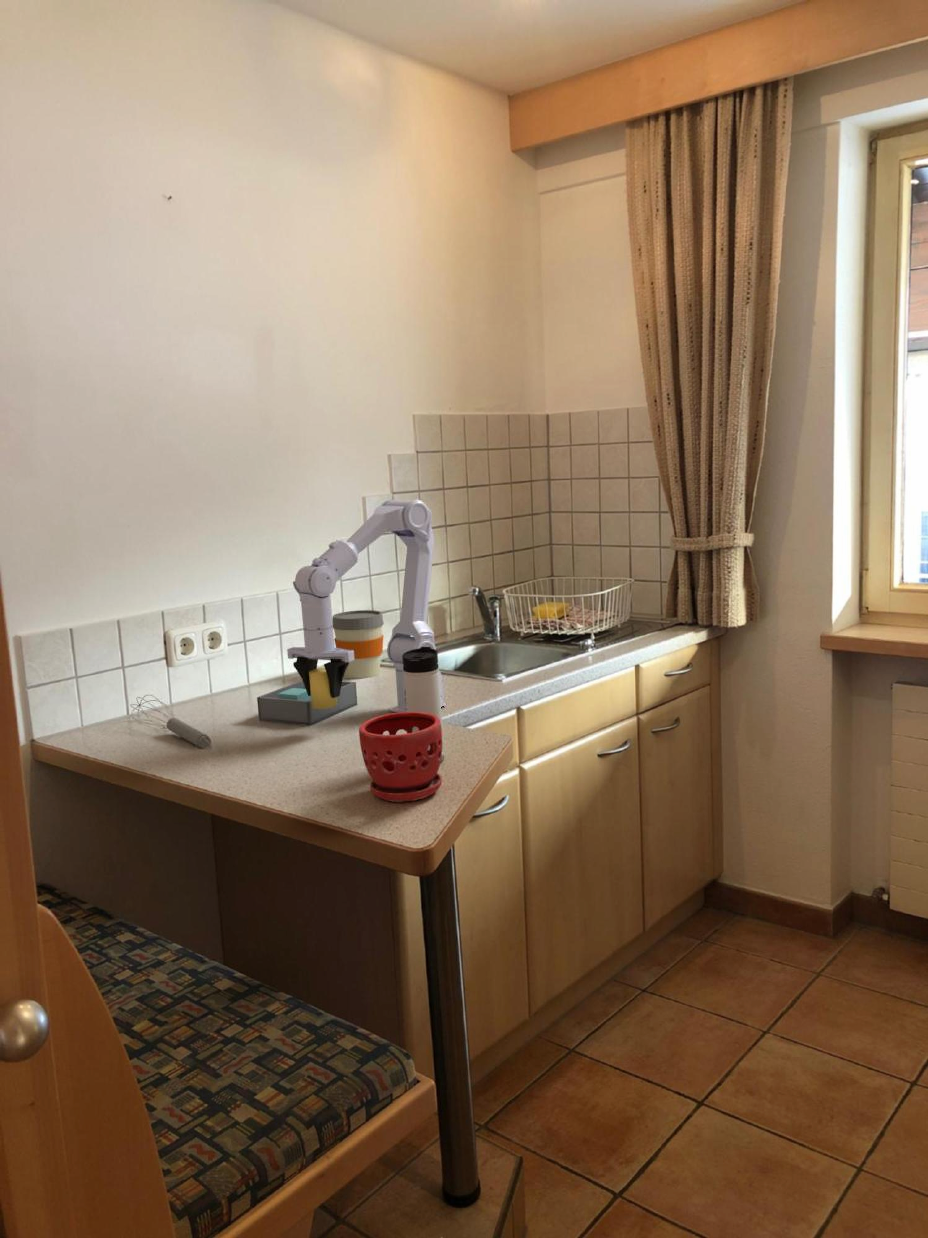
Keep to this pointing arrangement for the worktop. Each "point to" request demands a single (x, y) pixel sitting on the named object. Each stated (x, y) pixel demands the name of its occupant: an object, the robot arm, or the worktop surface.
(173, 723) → the kitchen whisk
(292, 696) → the cube
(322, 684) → the cylinder
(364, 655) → the reusable coffee cup
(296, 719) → the tote
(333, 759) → the worktop surface
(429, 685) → the travel mug
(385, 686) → the worktop surface
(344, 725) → the worktop surface
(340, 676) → the robot arm
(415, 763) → the plant pot
